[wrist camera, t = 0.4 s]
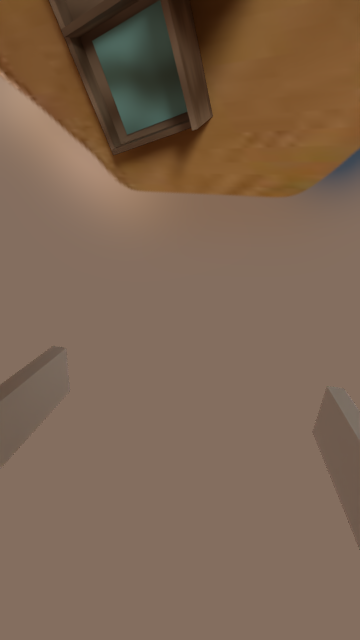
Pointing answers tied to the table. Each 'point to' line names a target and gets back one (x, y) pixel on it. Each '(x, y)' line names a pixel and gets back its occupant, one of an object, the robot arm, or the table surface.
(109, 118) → the condiment rack
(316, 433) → the robot arm
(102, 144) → the table surface
